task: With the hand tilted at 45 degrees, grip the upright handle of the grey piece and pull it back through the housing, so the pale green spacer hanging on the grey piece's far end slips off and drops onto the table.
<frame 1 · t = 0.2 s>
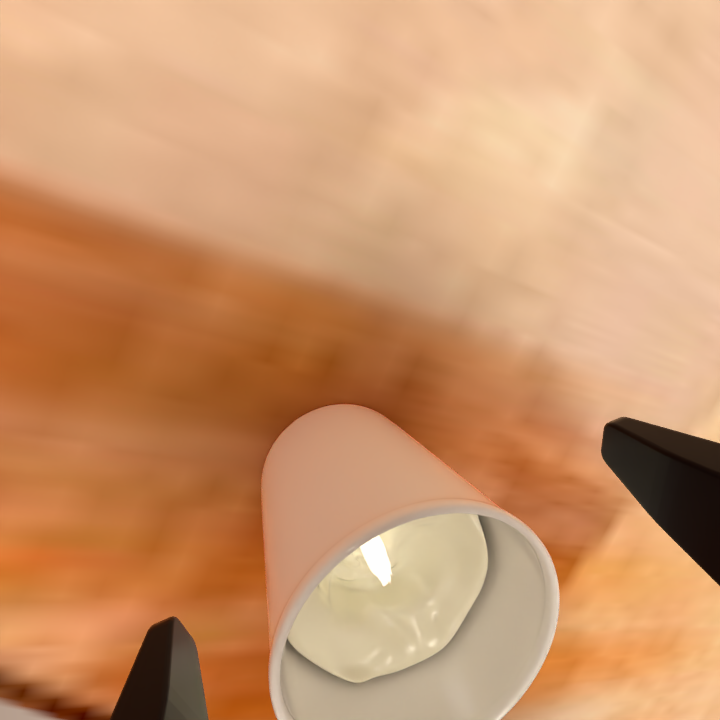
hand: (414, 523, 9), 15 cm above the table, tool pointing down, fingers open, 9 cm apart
candle holder: (336, 471, 26), on the table
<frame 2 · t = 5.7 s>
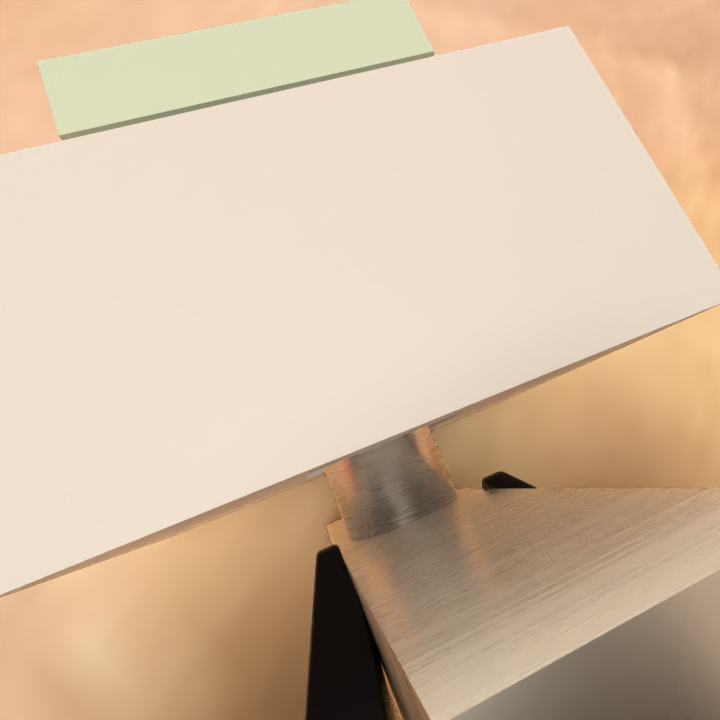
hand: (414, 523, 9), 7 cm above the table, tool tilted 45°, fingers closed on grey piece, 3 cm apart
spacer: (273, 246, 15), point 2 cm above the table, touching grey piece
grey piece: (328, 310, 10), point 7 cm above the table, slide at 0.0 cm, touching gripper, spacer
housing: (319, 382, 16), on the table
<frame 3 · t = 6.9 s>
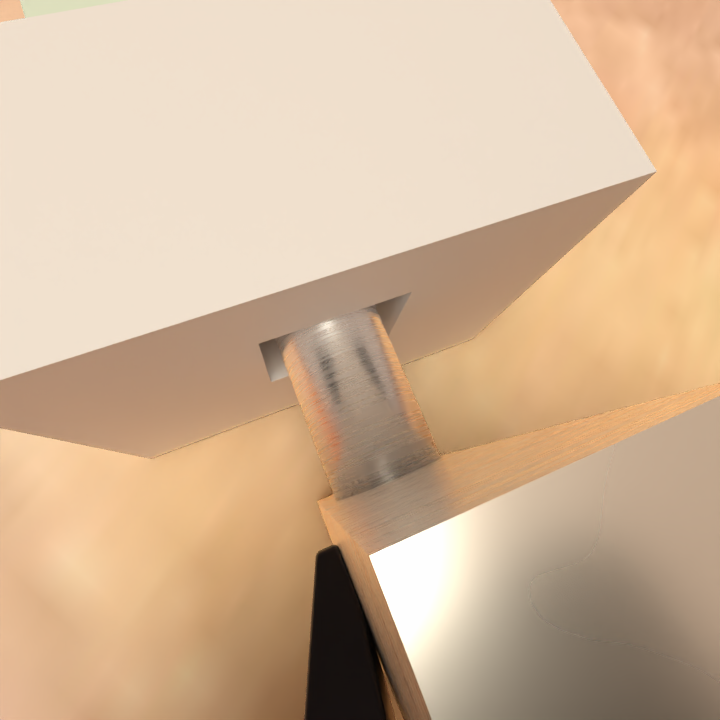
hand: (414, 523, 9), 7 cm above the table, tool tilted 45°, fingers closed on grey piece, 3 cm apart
spacer: (254, 197, 16), point 2 cm above the table, touching grey piece
grey piece: (314, 277, 10), point 7 cm above the table, slide at 1.8 cm, touching gripper, spacer
housing: (294, 319, 17), on the table
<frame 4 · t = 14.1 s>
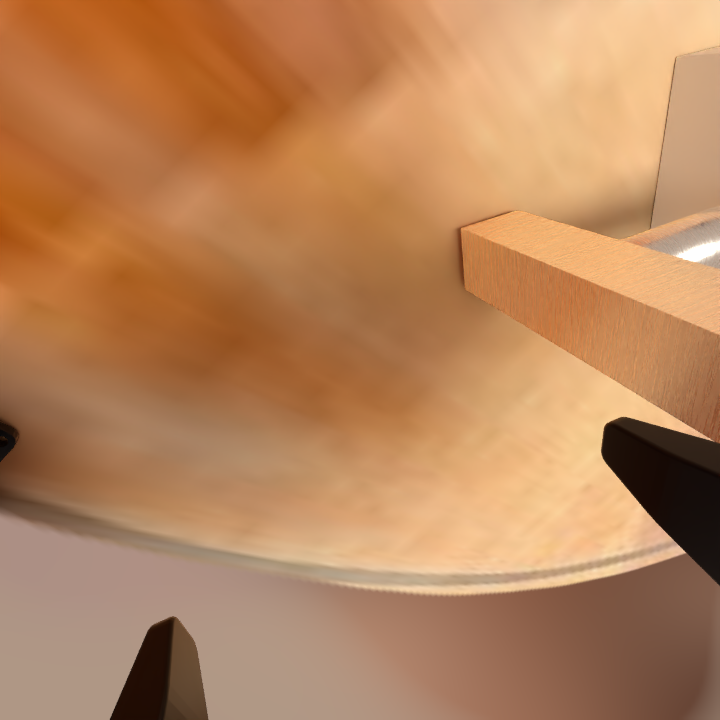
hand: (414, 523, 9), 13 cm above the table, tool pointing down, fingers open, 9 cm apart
housing: (700, 177, 25), on the table
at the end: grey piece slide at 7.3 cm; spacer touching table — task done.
